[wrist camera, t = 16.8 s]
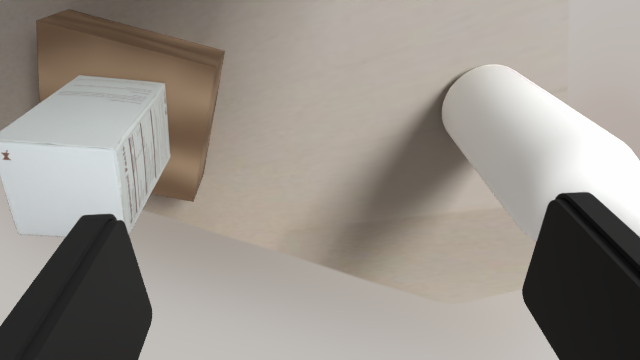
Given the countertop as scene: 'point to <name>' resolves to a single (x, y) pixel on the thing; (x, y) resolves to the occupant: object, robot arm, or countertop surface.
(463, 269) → the countertop surface
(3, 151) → the supplement box
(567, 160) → the white bottle
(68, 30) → the walnut block
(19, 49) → the countertop surface
